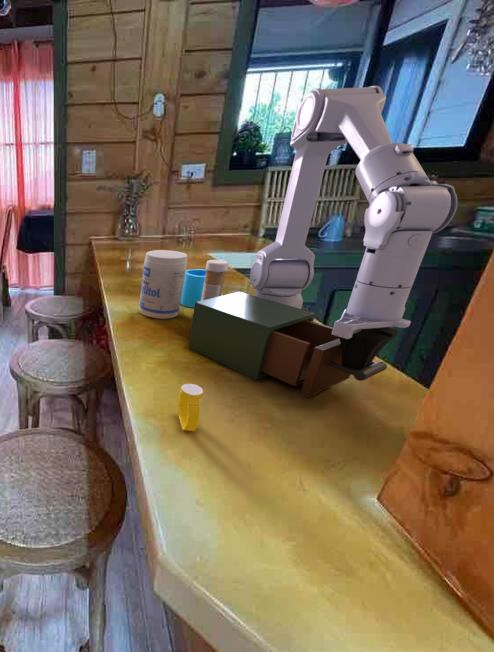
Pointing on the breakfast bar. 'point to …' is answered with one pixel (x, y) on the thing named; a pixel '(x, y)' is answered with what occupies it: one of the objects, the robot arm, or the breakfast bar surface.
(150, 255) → the supplement tub
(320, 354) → the drawer
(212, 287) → the sprinkles bottle
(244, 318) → the cabinet
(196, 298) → the mug
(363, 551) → the breakfast bar surface
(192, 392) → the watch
